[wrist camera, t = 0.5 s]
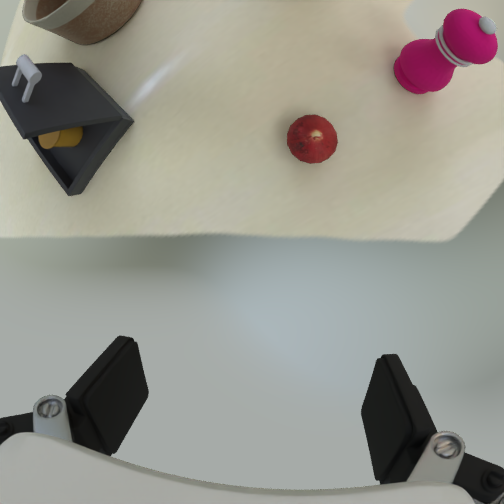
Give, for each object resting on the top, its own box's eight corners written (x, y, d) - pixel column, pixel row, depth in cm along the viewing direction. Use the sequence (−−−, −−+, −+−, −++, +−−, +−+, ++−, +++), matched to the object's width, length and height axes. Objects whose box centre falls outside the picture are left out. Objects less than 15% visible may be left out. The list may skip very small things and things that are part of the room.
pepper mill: (409, 44, 29) (478, -18, 10) (442, 82, 30) (528, 44, 11) (380, 67, 31) (446, 1, 12) (415, 106, 32) (504, 71, 13)
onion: (299, 171, 36) (303, 171, 29) (278, 132, 35) (277, 122, 27) (339, 153, 35) (353, 148, 27) (319, 113, 34) (327, 99, 26)
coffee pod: (63, 121, 37) (39, 118, 31) (85, 116, 36) (61, 111, 30) (62, 150, 38) (37, 151, 32) (84, 146, 37) (59, 146, 32)
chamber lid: (23, 139, 20) (37, 98, 17) (-15, 73, 18) (-3, 40, 15) (120, 120, 33) (138, 91, 31) (69, 66, 31) (83, 41, 29)
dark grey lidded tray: (81, 194, 40) (68, 196, 37) (38, 137, 38) (26, 137, 35) (134, 121, 36) (123, 118, 33) (83, 69, 35) (71, 65, 31)
